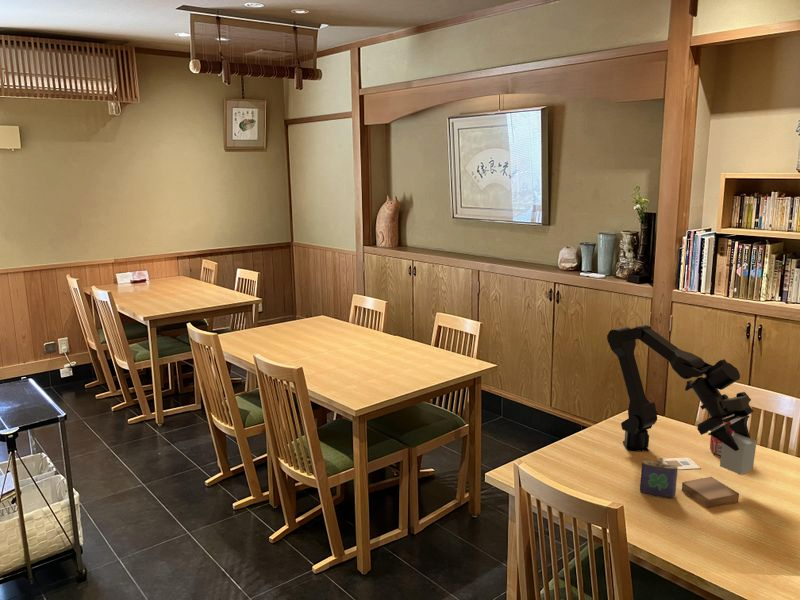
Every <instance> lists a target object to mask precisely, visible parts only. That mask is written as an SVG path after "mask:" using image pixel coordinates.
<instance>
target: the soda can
mask: <svg viewBox="0 0 800 600" xmlns="http://www.w3.org/2000/svg"><path fill="white" fill-rule="evenodd" d="M728 423H729V425H731V423H730V421H728V422H726V423H725V424H728ZM729 432H730V433H731V435H732V434H734V433H735V432H734V431H733V430H732V429H731V428H730V427H729ZM722 444H723V442H721V441H719V440H718V439H716V438H714V437H713V436H711V435H710V440H709V450H710V451H711V452H712V453H713V454H715V455H717V456H720V457H721V452H722Z"/></svg>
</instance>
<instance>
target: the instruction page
mask: <svg viewBox="0 0 800 600" xmlns="http://www.w3.org/2000/svg"><path fill="white" fill-rule="evenodd" d="M658 459H659V458H657V461H658ZM662 459H663V462H662V463H663V464H667V465H675V466H677V468H678V470H699V469H701V467H700V466H699V465H698V464H697V463H696V462H694V461H693V460H692V459H691V458H690V457H675V458H674V457H673V458H671V457H668V458H662Z"/></svg>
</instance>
